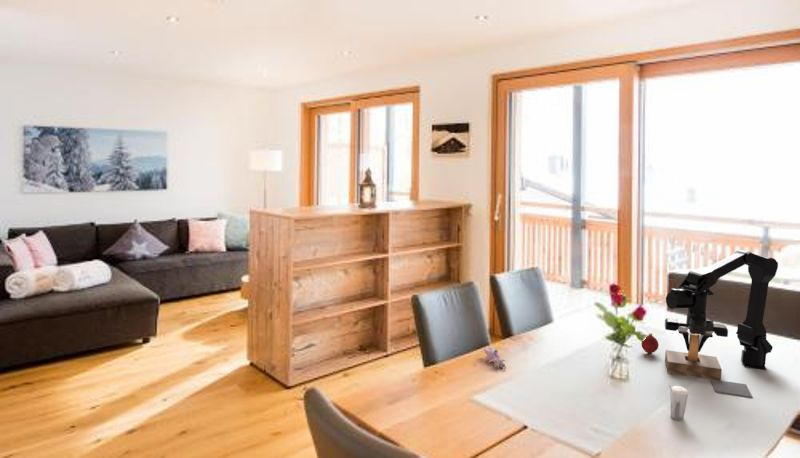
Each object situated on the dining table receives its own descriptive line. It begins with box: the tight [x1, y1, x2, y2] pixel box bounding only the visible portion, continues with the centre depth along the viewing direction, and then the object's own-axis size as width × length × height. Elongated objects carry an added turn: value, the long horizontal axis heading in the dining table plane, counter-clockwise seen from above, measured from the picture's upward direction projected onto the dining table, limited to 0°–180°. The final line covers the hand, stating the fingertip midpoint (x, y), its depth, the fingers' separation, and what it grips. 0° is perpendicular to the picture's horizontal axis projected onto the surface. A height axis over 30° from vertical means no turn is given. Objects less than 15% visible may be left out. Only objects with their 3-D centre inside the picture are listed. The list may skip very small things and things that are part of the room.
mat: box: [710, 379, 753, 399], centre depth 171 cm, size 10×10×1 cm
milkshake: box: [668, 384, 689, 422], centre depth 151 cm, size 4×5×10 cm
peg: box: [687, 332, 700, 362], centre depth 185 cm, size 3×3×10 cm
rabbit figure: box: [483, 346, 507, 371], centre depth 191 cm, size 6×6×15 cm
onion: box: [640, 332, 660, 355], centre depth 200 cm, size 6×6×8 cm
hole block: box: [664, 349, 723, 381], centre depth 186 cm, size 16×12×4 cm
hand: (693, 351), depth 185 cm, fingers closed on peg, 3 cm apart
